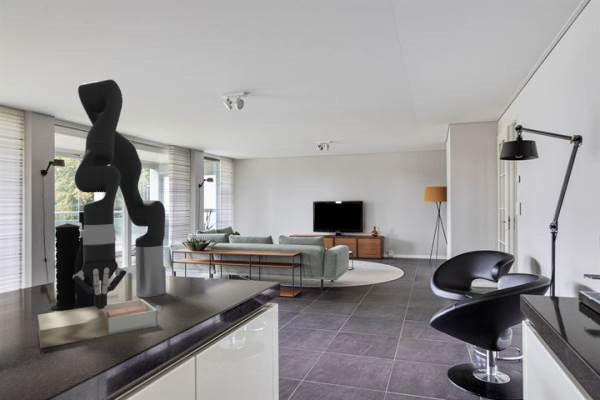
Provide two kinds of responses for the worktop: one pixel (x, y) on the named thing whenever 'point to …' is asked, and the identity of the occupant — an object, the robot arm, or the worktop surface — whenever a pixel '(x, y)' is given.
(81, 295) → the wine bottle
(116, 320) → the tray
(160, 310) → the chef's knife
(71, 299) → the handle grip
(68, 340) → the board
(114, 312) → the tile
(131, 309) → the tile
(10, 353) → the worktop surface
